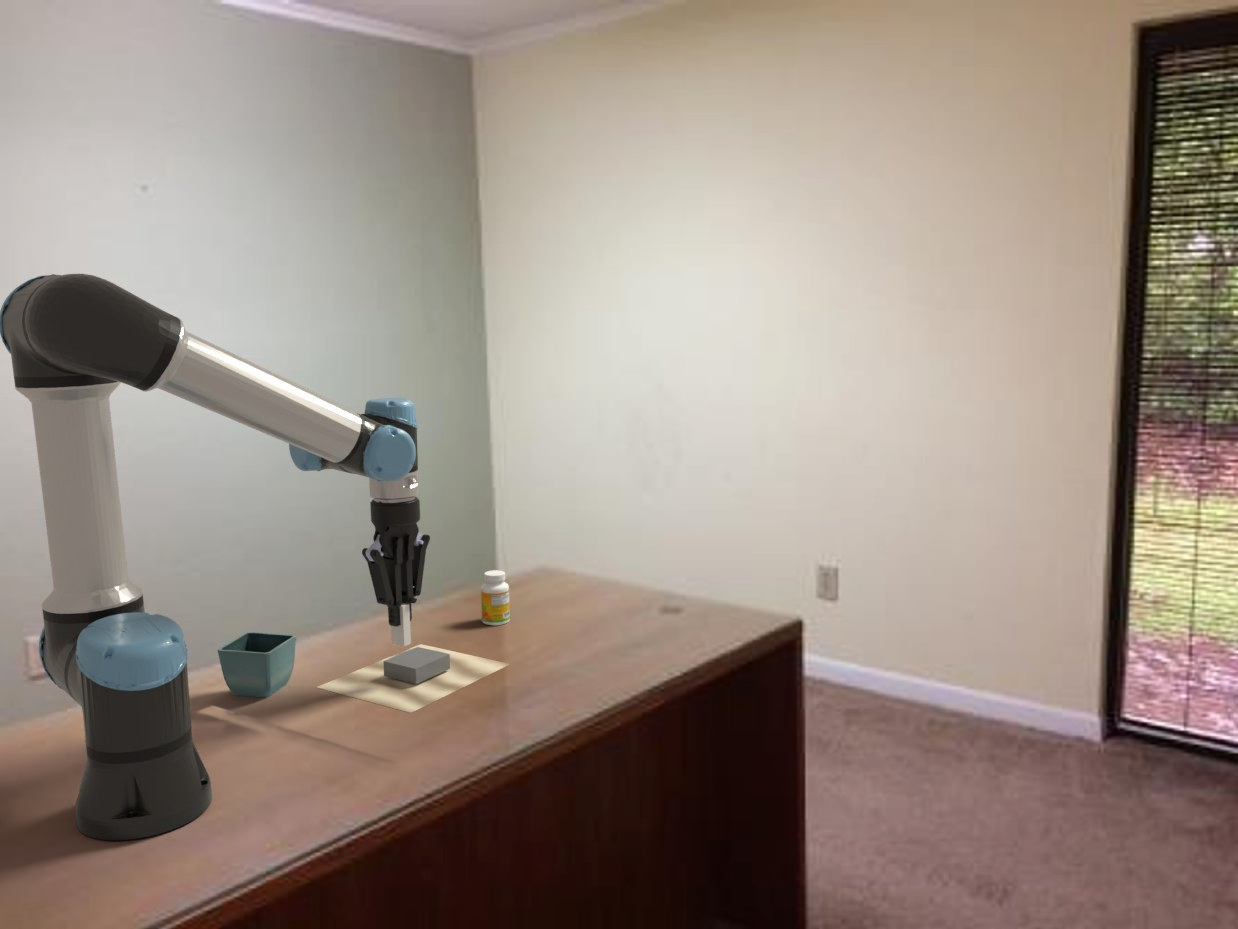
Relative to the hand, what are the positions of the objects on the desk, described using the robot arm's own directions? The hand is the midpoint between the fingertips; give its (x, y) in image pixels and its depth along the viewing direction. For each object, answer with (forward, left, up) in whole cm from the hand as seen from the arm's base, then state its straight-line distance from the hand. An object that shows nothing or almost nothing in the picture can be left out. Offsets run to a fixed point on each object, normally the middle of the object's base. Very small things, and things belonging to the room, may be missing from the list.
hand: (401, 643), depth 165 cm
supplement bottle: (+35, +9, -8) cm, 37 cm away
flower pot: (-14, +17, -8) cm, 23 cm away
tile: (-1, 0, -5) cm, 5 cm away
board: (+3, 0, -8) cm, 8 cm away
